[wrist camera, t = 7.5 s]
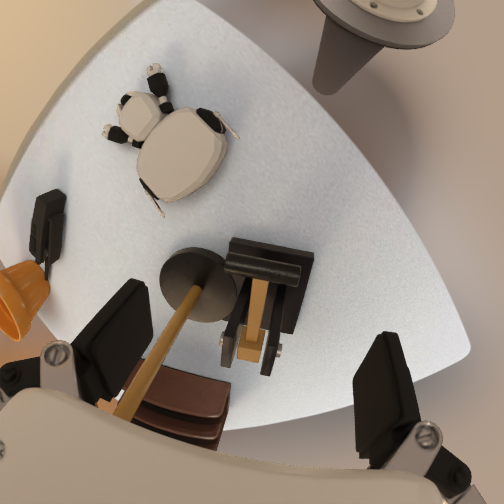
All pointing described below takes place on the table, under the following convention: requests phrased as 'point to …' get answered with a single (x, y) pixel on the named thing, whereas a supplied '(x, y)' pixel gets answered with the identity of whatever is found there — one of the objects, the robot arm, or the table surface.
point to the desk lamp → (183, 311)
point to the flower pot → (21, 297)
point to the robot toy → (169, 140)
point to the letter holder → (183, 406)
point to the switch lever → (258, 295)
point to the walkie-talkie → (47, 228)
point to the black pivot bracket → (266, 301)
